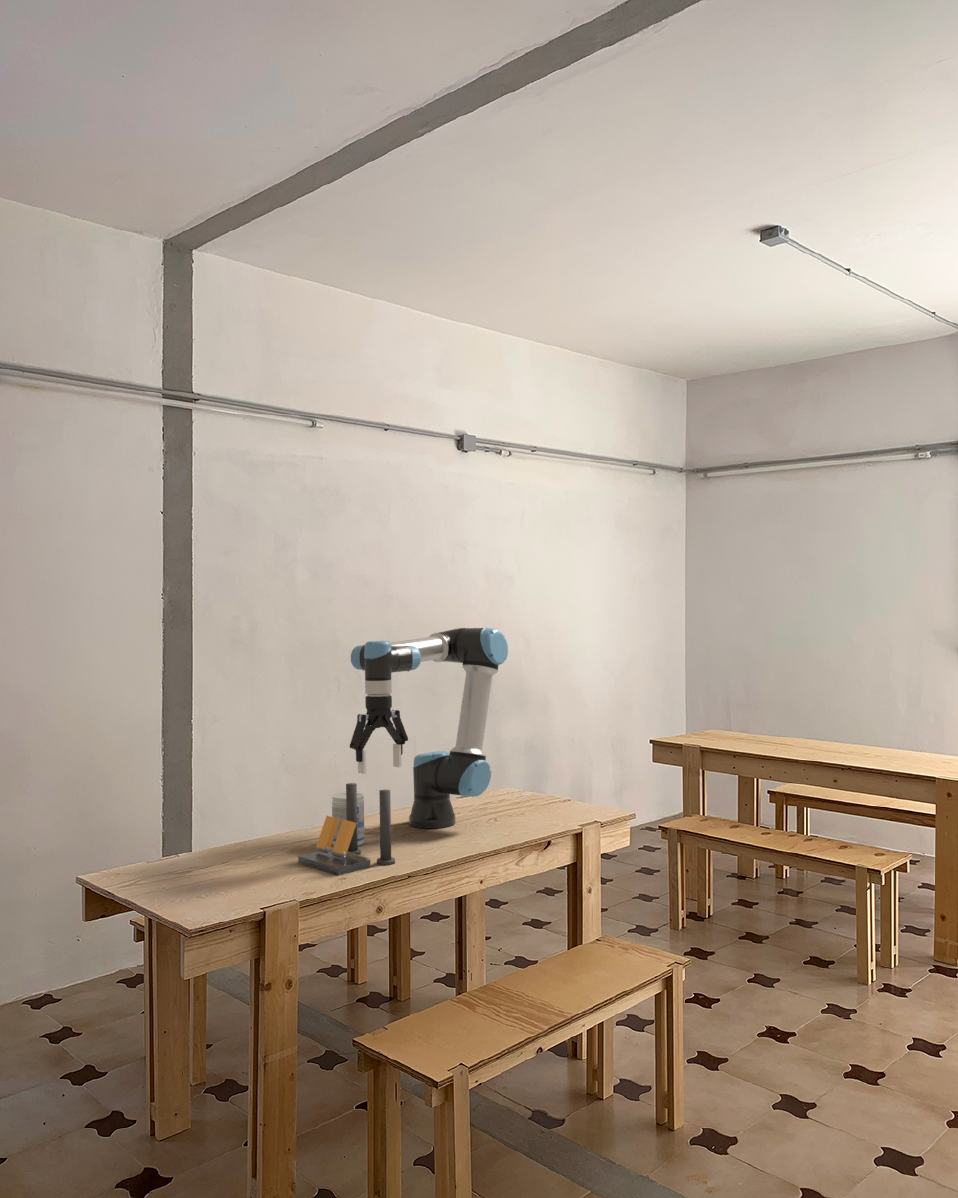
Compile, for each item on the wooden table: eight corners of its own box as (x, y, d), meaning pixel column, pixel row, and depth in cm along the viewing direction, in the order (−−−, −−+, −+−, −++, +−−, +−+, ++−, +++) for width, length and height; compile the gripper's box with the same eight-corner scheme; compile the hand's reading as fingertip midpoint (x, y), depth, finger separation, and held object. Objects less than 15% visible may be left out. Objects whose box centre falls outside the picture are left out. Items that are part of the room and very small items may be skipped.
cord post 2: (387, 859, 272) (386, 788, 272) (398, 862, 268) (397, 790, 268) (373, 863, 268) (372, 790, 268) (384, 866, 265) (383, 793, 265)
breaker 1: (335, 856, 268) (347, 821, 271) (345, 858, 265) (357, 823, 268) (330, 854, 267) (342, 819, 270) (340, 857, 264) (352, 821, 267)
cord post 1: (353, 850, 282) (352, 781, 282) (364, 853, 279) (363, 783, 279) (340, 853, 279) (338, 784, 279) (350, 856, 275) (349, 786, 275)
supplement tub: (351, 850, 283) (350, 799, 283) (325, 846, 288) (324, 796, 288) (371, 842, 291) (370, 793, 291) (345, 839, 296) (345, 791, 296)
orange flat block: (319, 851, 273) (330, 817, 276) (328, 854, 270) (340, 819, 273) (314, 850, 272) (326, 815, 275) (324, 852, 269) (335, 817, 272)
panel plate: (330, 855, 277) (330, 846, 277) (370, 867, 264) (370, 857, 264) (298, 863, 269) (298, 854, 269) (338, 875, 256) (337, 865, 256)
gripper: (402, 690, 288) (403, 762, 288) (335, 697, 271) (337, 774, 271) (419, 692, 283) (420, 765, 283) (352, 699, 266) (354, 777, 266)
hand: (380, 770), depth 277 cm, fingers open, 12 cm apart
